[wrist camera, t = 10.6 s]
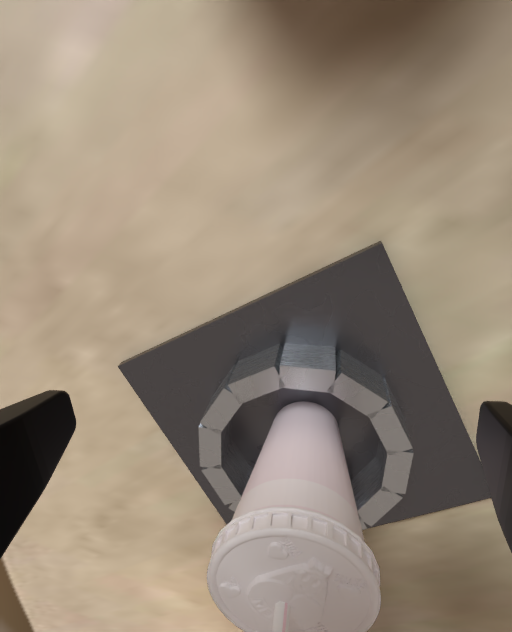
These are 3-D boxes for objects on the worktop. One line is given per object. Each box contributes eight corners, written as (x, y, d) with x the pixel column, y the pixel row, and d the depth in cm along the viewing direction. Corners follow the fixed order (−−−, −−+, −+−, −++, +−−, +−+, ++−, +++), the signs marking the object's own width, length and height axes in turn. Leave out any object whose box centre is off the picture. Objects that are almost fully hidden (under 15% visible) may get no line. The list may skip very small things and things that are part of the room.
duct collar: (380, 240, 20) (388, 256, 17) (493, 489, 24) (513, 534, 21) (121, 362, 25) (95, 389, 22) (251, 551, 29) (242, 593, 26)
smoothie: (230, 438, 25) (127, 743, 12) (286, 359, 23) (229, 641, 10) (322, 490, 26) (313, 840, 13) (387, 419, 23) (459, 766, 10)
